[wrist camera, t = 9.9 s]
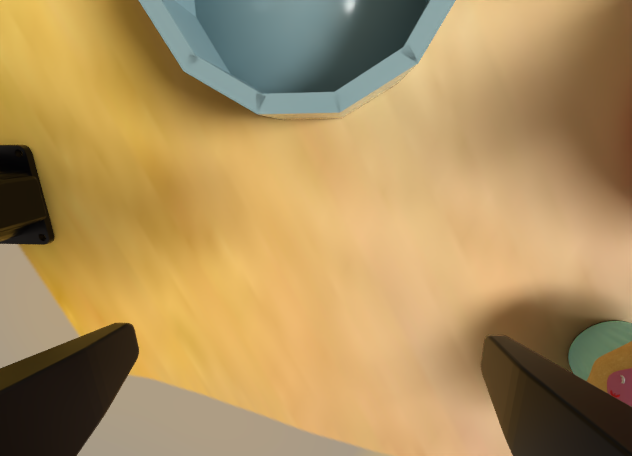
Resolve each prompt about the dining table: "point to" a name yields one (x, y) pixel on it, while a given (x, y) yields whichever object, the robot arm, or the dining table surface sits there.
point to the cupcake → (605, 358)
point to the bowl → (298, 49)
